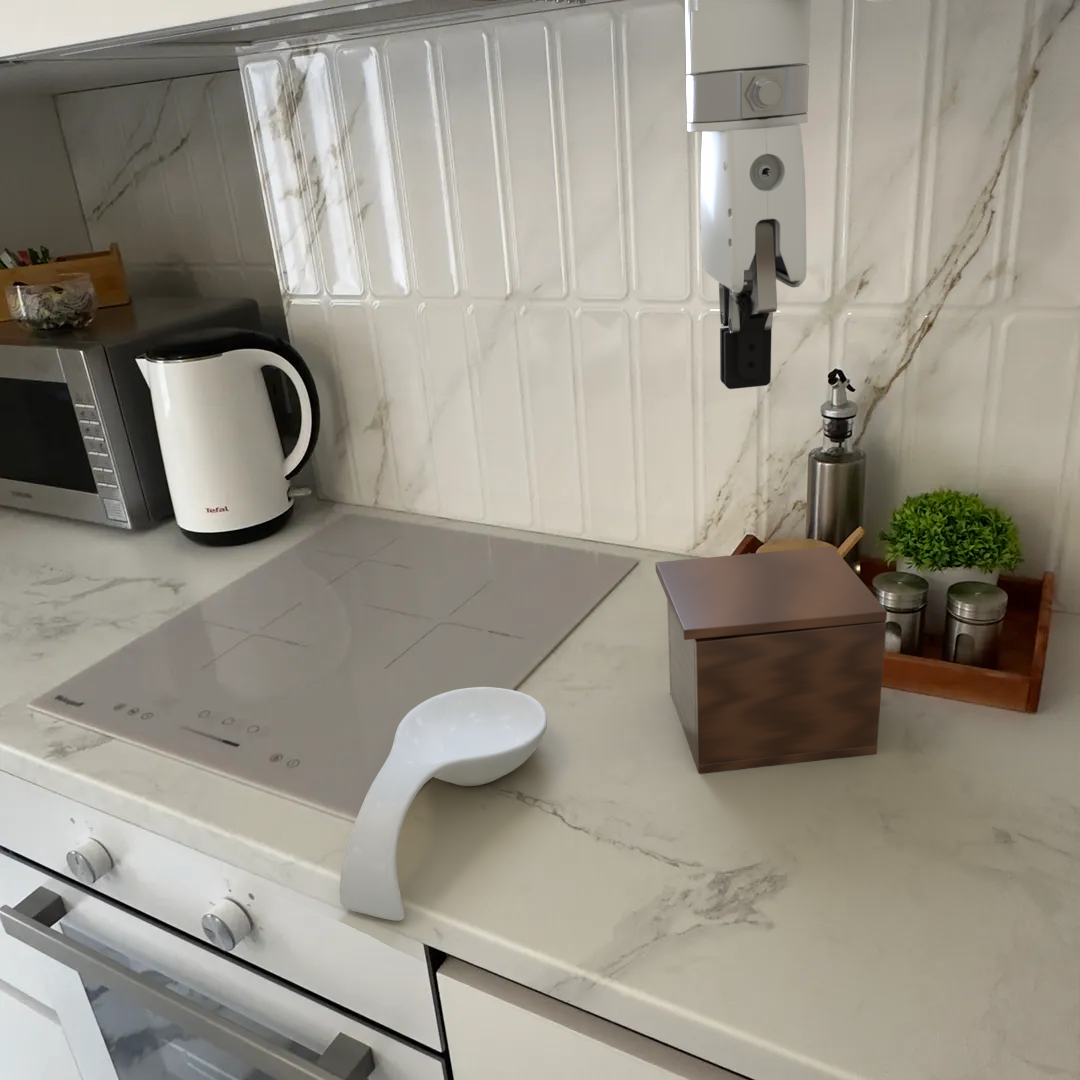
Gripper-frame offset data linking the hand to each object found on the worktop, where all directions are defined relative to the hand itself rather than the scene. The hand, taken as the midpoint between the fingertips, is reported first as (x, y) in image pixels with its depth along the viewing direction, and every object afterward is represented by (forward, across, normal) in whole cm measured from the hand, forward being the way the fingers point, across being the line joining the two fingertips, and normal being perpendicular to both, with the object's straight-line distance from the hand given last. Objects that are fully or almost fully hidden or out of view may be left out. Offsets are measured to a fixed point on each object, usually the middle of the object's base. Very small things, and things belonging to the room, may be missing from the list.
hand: (745, 383), depth 69 cm
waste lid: (+17, 0, -2) cm, 17 cm away
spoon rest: (+29, -6, +25) cm, 39 cm away
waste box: (+29, 0, -2) cm, 29 cm away
